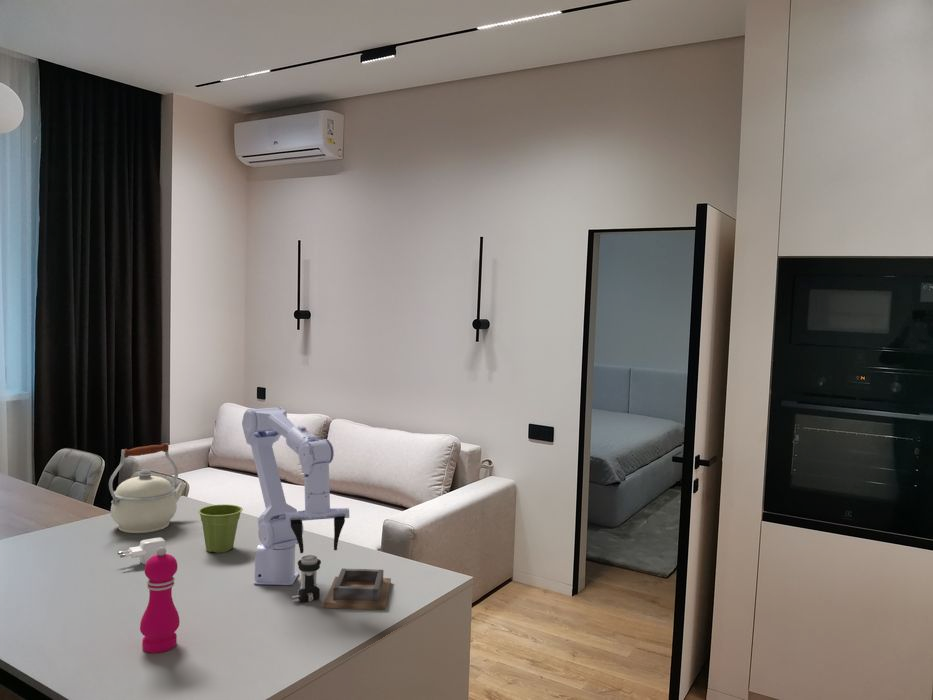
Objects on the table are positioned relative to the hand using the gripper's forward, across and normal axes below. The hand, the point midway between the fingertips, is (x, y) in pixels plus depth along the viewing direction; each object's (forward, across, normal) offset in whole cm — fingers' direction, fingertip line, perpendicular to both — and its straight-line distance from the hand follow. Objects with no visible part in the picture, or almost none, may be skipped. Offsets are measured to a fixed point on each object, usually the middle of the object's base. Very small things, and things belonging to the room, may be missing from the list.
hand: (318, 550), depth 161 cm
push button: (+12, -3, +2) cm, 13 cm away
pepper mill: (+12, -31, -17) cm, 38 cm away
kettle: (+4, -52, +64) cm, 82 cm away
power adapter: (+7, -46, +30) cm, 55 cm away
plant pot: (+7, -28, +40) cm, 49 cm away
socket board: (+12, +9, +4) cm, 16 cm away
